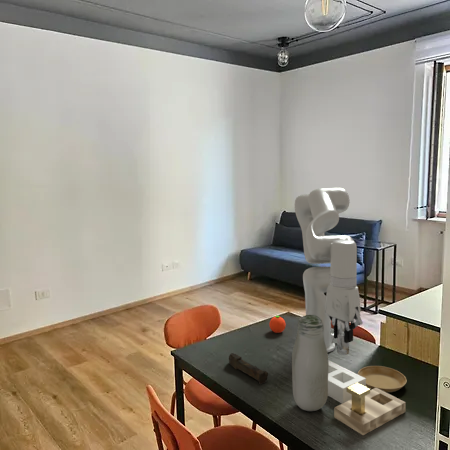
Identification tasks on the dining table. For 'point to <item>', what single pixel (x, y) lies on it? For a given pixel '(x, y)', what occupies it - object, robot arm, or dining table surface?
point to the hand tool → (248, 368)
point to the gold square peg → (358, 397)
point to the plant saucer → (383, 378)
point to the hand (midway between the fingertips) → (343, 339)
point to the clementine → (277, 324)
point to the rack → (341, 382)
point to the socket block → (370, 411)
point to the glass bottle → (310, 364)
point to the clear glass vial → (341, 338)
